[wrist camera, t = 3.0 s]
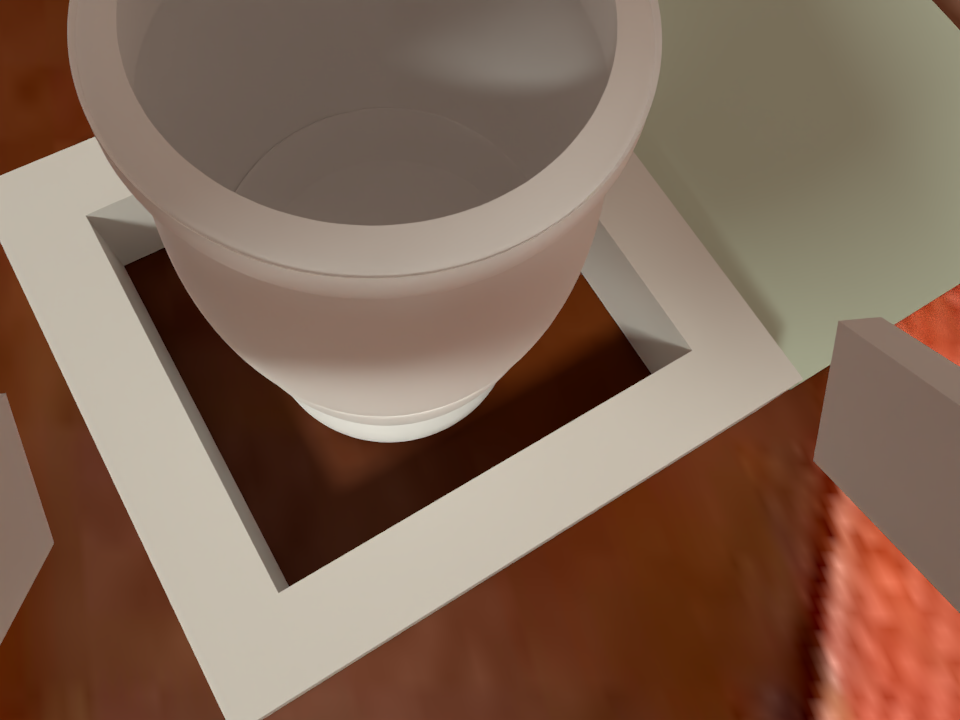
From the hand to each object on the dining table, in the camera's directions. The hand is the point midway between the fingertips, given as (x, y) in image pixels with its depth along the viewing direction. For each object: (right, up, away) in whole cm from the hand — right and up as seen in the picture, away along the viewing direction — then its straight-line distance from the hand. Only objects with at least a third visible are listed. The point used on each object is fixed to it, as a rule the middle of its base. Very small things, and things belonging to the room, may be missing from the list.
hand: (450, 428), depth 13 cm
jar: (-3, +2, +15) cm, 16 cm away
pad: (+14, +10, +19) cm, 26 cm away
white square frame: (-3, +2, +15) cm, 15 cm away
